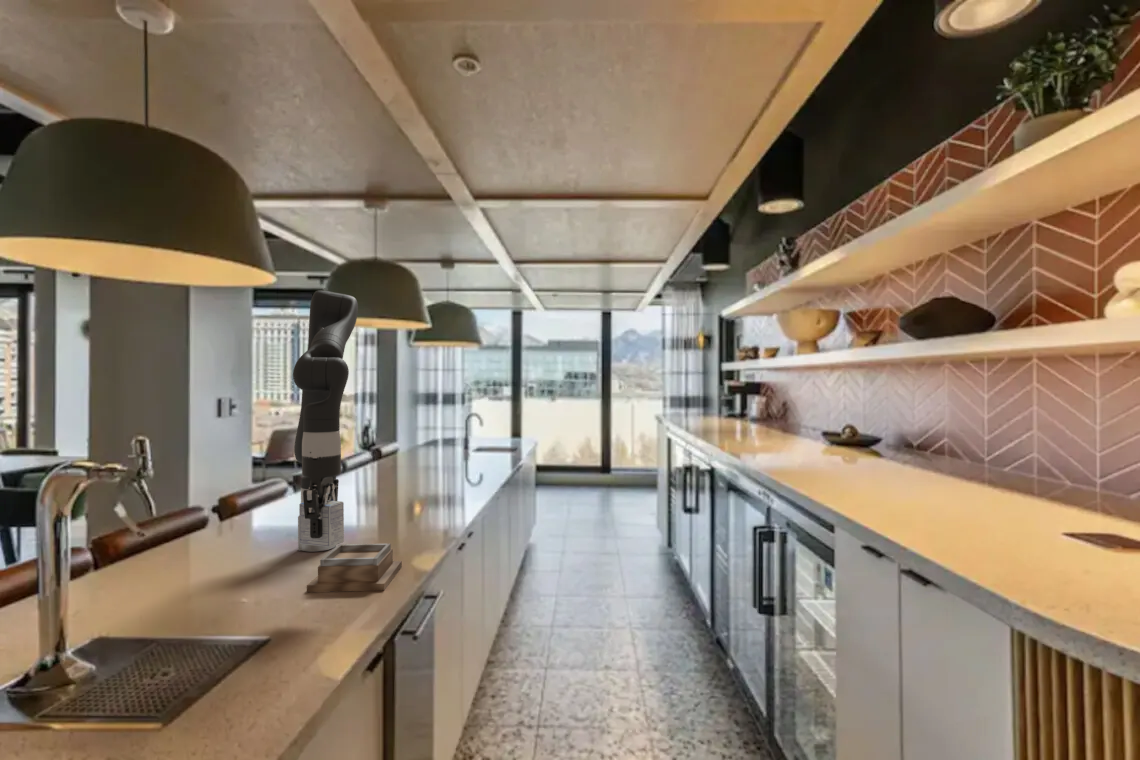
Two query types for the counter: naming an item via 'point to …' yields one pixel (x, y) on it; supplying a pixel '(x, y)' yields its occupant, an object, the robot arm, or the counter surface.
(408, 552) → the counter surface
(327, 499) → the robot arm
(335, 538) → the medicine box
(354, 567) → the display stand
